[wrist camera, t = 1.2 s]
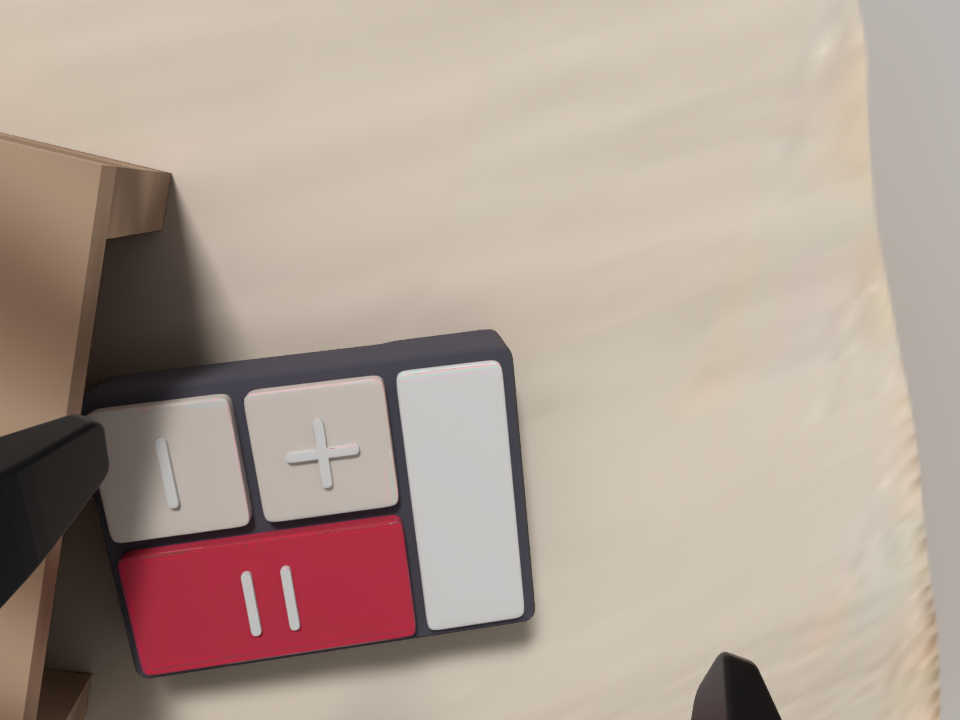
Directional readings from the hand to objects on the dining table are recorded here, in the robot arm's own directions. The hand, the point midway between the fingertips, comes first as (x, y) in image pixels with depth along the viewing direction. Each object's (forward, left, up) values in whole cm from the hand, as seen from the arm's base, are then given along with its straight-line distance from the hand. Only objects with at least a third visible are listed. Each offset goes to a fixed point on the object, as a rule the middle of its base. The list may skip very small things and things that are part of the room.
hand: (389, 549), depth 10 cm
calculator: (-7, 0, -19) cm, 20 cm away
